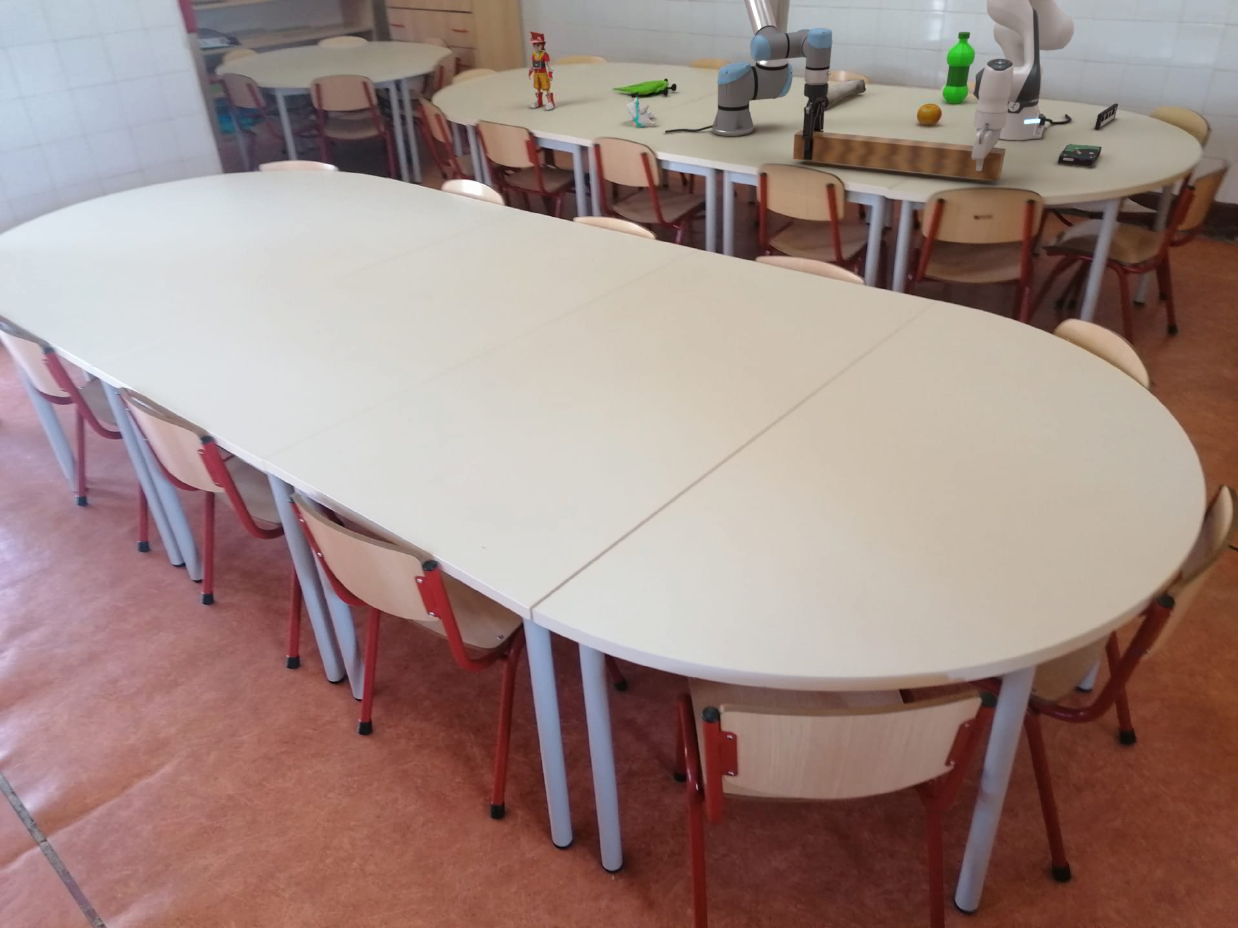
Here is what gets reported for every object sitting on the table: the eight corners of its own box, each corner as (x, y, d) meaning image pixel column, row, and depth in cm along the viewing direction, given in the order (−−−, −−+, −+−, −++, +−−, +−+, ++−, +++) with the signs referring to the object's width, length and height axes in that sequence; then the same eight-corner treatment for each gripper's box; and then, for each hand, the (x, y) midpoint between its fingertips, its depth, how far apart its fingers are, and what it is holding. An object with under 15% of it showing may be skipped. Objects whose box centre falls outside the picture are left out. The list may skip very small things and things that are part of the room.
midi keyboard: (1098, 129, 313) (1101, 114, 311) (1094, 129, 314) (1098, 114, 311) (1114, 118, 324) (1118, 104, 321) (1111, 118, 325) (1114, 103, 322)
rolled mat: (841, 83, 376) (857, 68, 368) (853, 102, 377) (870, 86, 369) (802, 102, 359) (819, 86, 351) (815, 121, 359) (832, 105, 351)
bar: (792, 159, 298) (794, 134, 294) (799, 154, 302) (800, 130, 298) (996, 181, 270) (1002, 153, 265) (1000, 175, 274) (1005, 148, 269)
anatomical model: (623, 97, 354) (648, 90, 354) (629, 123, 360) (653, 116, 359) (626, 106, 342) (652, 99, 341) (633, 133, 348) (658, 126, 347)
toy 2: (686, 85, 398) (631, 84, 414) (685, 72, 395) (629, 72, 411) (651, 104, 381) (596, 103, 397) (650, 92, 378) (594, 91, 394)
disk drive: (1092, 168, 280) (1100, 154, 290) (1094, 159, 278) (1102, 146, 288) (1057, 164, 285) (1065, 151, 295) (1059, 155, 283) (1067, 142, 293)
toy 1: (525, 109, 381) (517, 32, 364) (534, 104, 388) (527, 28, 371) (550, 110, 377) (543, 32, 360) (559, 105, 384) (553, 28, 367)
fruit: (911, 116, 327) (926, 96, 324) (913, 119, 335) (927, 100, 332) (931, 129, 325) (945, 109, 322) (931, 132, 333) (946, 112, 330)
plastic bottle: (973, 101, 354) (984, 32, 339) (955, 106, 349) (966, 36, 335) (952, 97, 361) (962, 29, 346) (934, 102, 356) (944, 33, 342)
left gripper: (817, 90, 276) (812, 166, 290) (837, 77, 289) (831, 150, 302) (794, 88, 280) (790, 163, 293) (815, 75, 292) (810, 148, 306)
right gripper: (993, 130, 256) (984, 178, 264) (1008, 112, 270) (999, 158, 278) (970, 128, 259) (962, 176, 267) (986, 110, 273) (978, 156, 281)
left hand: (811, 156), depth 298 cm, fingers closed on bar, 6 cm apart
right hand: (981, 167), depth 273 cm, fingers closed on bar, 5 cm apart
